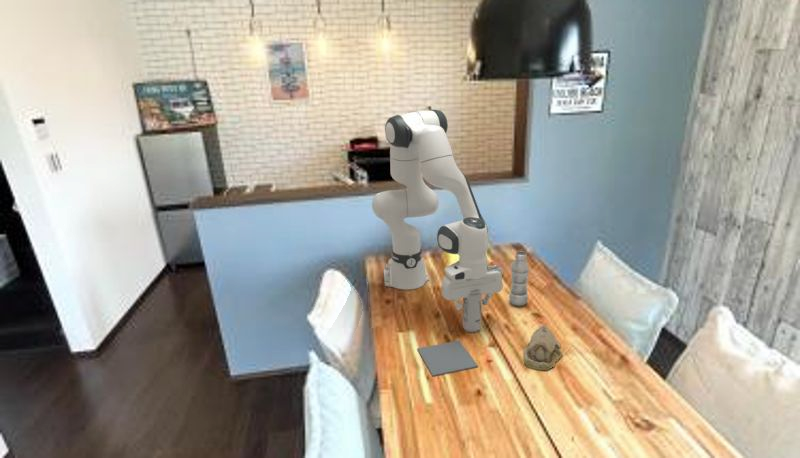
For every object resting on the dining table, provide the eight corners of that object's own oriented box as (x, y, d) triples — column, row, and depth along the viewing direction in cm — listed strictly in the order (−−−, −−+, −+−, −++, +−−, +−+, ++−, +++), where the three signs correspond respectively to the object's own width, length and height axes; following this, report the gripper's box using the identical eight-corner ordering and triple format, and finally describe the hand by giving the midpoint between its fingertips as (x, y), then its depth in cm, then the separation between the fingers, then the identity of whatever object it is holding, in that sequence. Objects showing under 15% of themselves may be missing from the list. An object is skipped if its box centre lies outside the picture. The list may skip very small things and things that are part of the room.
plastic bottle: (531, 306, 167) (534, 254, 161) (515, 309, 165) (518, 258, 158) (520, 298, 173) (523, 248, 166) (505, 302, 170) (507, 251, 164)
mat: (417, 349, 143) (417, 348, 143) (459, 341, 147) (459, 340, 147) (432, 376, 130) (432, 375, 130) (478, 367, 134) (478, 365, 134)
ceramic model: (526, 341, 146) (528, 313, 143) (564, 348, 142) (567, 320, 138) (518, 366, 134) (520, 336, 131) (558, 375, 130) (561, 344, 126)
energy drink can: (480, 334, 150) (481, 292, 146) (461, 332, 152) (462, 291, 147) (481, 324, 156) (482, 284, 151) (463, 323, 157) (464, 283, 152)
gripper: (497, 260, 152) (496, 297, 157) (439, 268, 147) (439, 307, 152) (507, 267, 146) (505, 306, 151) (447, 276, 141) (446, 316, 146)
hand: (472, 306), depth 151 cm, fingers open, 8 cm apart
